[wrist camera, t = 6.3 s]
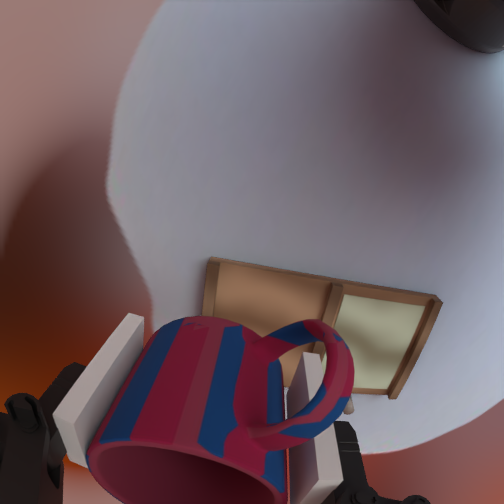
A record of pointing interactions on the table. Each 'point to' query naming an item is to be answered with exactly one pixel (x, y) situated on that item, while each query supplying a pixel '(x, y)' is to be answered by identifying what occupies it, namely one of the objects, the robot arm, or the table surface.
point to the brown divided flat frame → (328, 318)
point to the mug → (214, 414)
